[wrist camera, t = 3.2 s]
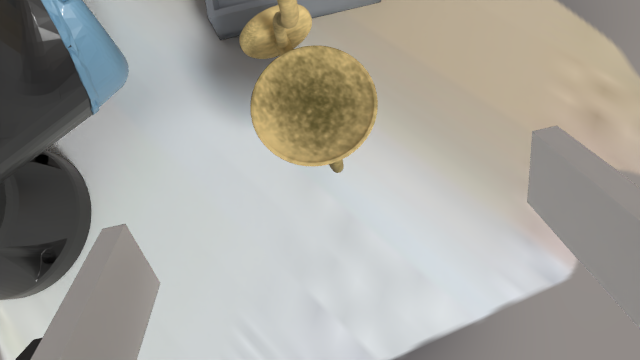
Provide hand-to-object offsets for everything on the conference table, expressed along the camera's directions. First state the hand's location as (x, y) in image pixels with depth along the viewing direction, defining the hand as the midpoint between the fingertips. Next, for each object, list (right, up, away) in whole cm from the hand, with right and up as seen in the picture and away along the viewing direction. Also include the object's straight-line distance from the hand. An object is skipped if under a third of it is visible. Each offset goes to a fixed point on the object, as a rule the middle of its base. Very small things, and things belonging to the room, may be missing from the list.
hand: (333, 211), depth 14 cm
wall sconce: (-1, +6, +29) cm, 29 cm away
